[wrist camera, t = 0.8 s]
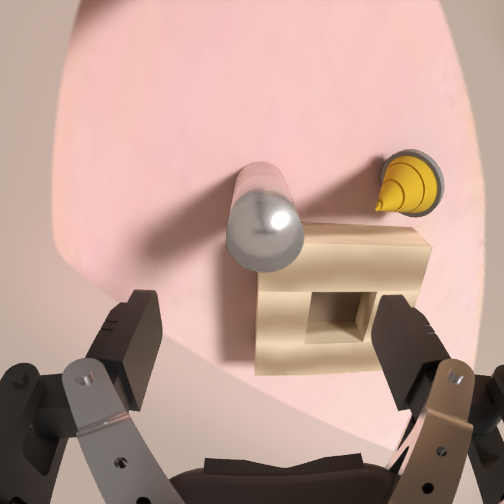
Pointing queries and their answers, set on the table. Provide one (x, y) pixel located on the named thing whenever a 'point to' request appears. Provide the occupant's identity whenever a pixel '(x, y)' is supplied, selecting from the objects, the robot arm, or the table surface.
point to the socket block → (334, 298)
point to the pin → (263, 220)
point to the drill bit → (410, 184)
